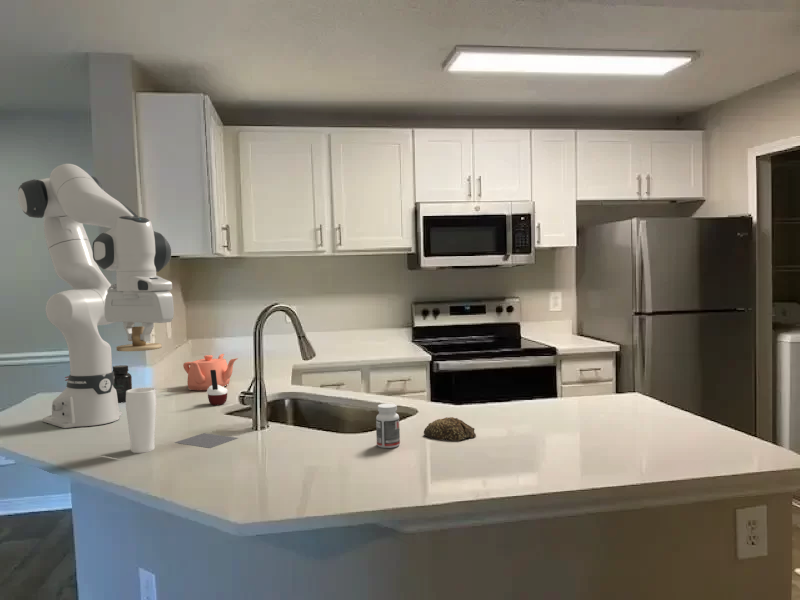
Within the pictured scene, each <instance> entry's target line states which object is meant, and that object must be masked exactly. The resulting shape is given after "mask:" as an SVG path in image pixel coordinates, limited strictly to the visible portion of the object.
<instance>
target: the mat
mask: <svg viewBox="0 0 800 600" xmlns="http://www.w3.org/2000/svg"><path fill="white" fill-rule="evenodd" d="M237 439H239V437H234V436H227V435H226V436H225V435H220V434H212V433H206V432H203V433H201V434H197V435H194V436H191V437H188V438H183V439H181V440H178V441H175V442H174V443H175V444H179V445H180V444H181V445H186V446H194V447H199V448H200V447H201V448H207V449H212V448H214V447H218V446H220V445H223V444H226V443H230V442H232V441H235V440H237Z"/></svg>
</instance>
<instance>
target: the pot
mask: <svg viewBox="0 0 800 600" xmlns="http://www.w3.org/2000/svg"><path fill="white" fill-rule="evenodd" d="M224 356H225V353H221V354H219V355H218V358H213V357H214V356H213V355H212V354H211V355H210V354H207V355H204V356H203V357H204V358H201V359H196V360H194V361H186V362H184V363H183V364H182V365H183V369H184V371H185V372H186V374H187V381H186V382H187V388H188V389H189V391H207V389H208V388H209V386H211V385H212V380H211V372H210V370H216V377H217V385H220V386H222V387H223V386H225V385H227V384H228V385H229V384H230V381H231V377H232V375H233V368H234V363H235V362H236V361H237V360H238V359H239V357H237V358H231V359H230V360H229V361H228V362H227V359H226V358H224Z"/></svg>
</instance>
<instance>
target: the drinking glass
mask: <svg viewBox="0 0 800 600" xmlns="http://www.w3.org/2000/svg"><path fill="white" fill-rule="evenodd" d="M125 408H126V409H125V410H126V419H127V425H128V434H129V441H130V442H129V443H130V452H131V453H134V454H143V453H149V452H152V451H154V450H155V444H156V443H155V439H156V438H155V436H156V435H155V433H156V418H157V391H156V388H154V387H138V388H132V389H130V390H127V391H126V402H125Z"/></svg>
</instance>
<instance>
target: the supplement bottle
mask: <svg viewBox="0 0 800 600" xmlns="http://www.w3.org/2000/svg"><path fill="white" fill-rule="evenodd" d="M112 371H113V372H114V384H113V387H114V388H115V389H116V392H117V399H118V404H119V403H120V404H122V403H121V402H123V403H126V391H127V390H130V389H133V379H132V377H133V376H132V374H130V372H129V366H128V365H126V364H122V365H121V364H120V365H115V366H114V365H112Z"/></svg>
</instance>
